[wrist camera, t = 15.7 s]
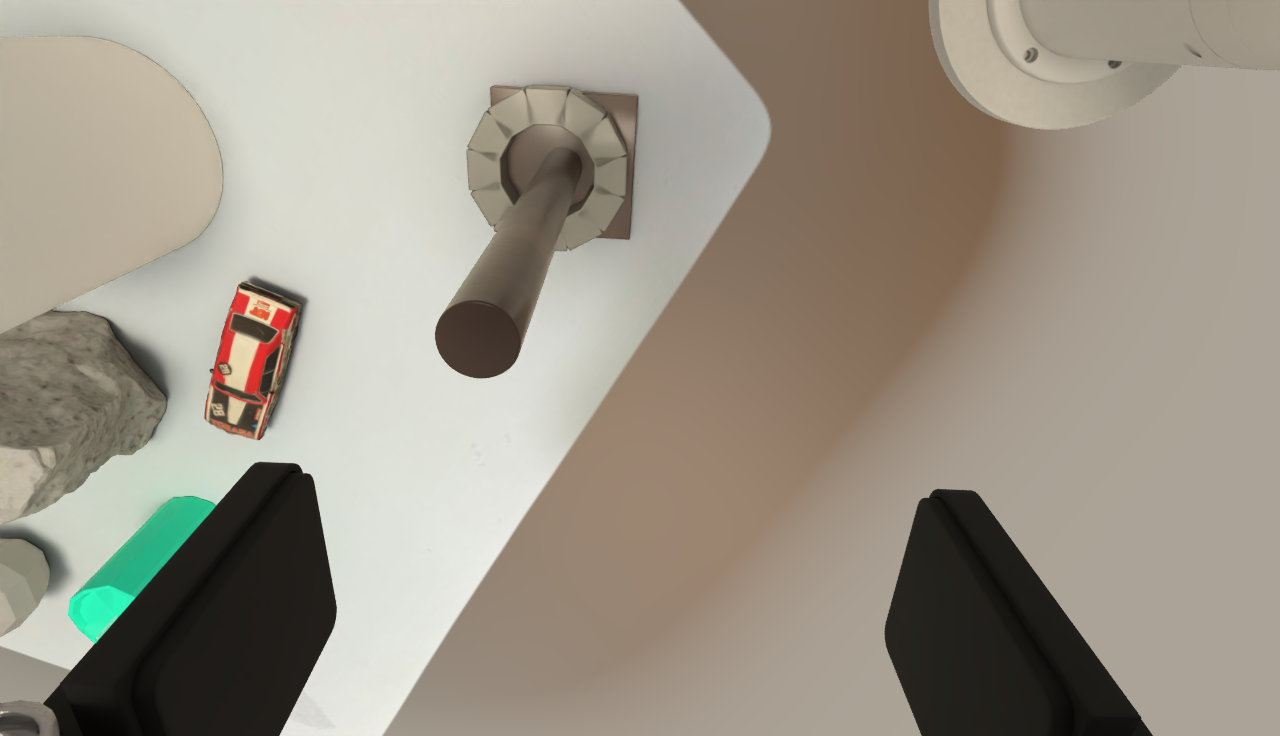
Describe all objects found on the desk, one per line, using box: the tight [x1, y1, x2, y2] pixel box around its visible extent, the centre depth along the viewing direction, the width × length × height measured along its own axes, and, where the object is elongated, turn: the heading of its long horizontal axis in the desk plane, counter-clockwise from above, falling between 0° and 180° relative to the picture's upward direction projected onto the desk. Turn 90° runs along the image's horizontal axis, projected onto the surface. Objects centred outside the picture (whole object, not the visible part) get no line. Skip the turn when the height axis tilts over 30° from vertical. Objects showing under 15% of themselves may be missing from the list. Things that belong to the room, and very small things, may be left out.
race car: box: [205, 281, 302, 440], centre depth 50 cm, size 5×12×5 cm, turn 150°
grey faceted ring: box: [467, 85, 627, 251], centre depth 44 cm, size 10×10×3 cm
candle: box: [68, 496, 216, 643], centre depth 53 cm, size 6×6×12 cm
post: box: [435, 85, 638, 378], centre depth 33 cm, size 9×9×29 cm
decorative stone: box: [0, 310, 167, 525], centre depth 46 cm, size 10×9×15 cm
